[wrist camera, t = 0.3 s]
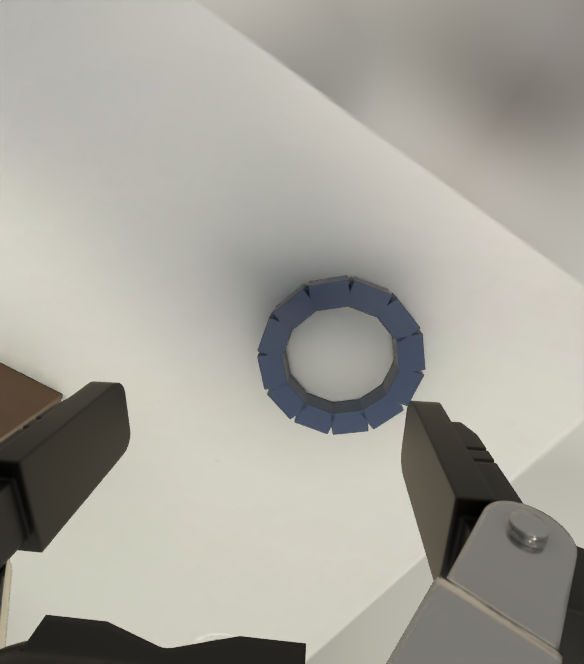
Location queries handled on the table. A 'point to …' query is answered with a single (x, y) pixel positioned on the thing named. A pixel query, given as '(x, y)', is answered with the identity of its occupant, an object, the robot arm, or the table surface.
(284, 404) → the ring
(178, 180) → the table surface
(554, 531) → the robot arm
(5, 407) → the stand
